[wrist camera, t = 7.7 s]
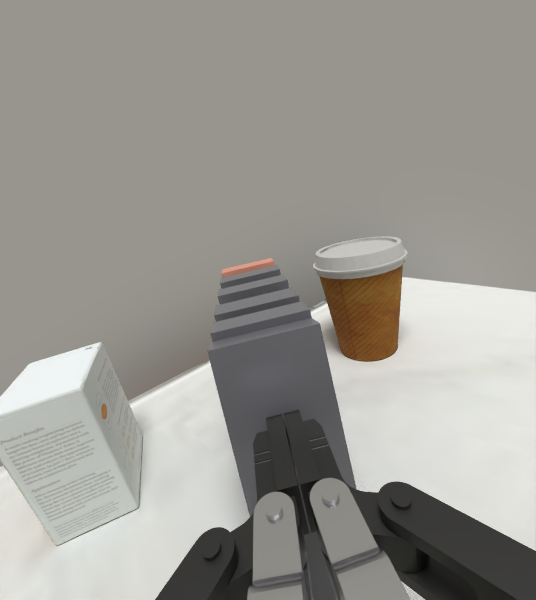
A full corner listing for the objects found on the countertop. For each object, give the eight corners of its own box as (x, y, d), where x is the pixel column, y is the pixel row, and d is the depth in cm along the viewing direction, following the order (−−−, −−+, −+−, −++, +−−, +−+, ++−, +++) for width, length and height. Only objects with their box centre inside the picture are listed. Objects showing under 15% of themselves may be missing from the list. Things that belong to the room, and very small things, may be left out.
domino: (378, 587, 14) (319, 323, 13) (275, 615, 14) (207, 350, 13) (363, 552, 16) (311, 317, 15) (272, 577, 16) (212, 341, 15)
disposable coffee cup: (373, 322, 41) (364, 234, 37) (433, 348, 32) (429, 237, 28) (313, 346, 38) (296, 254, 34) (360, 381, 30) (345, 263, 26)
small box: (81, 462, 27) (27, 362, 24) (144, 436, 29) (102, 339, 25) (53, 550, 20) (-30, 424, 17) (140, 510, 21) (80, 386, 18)
